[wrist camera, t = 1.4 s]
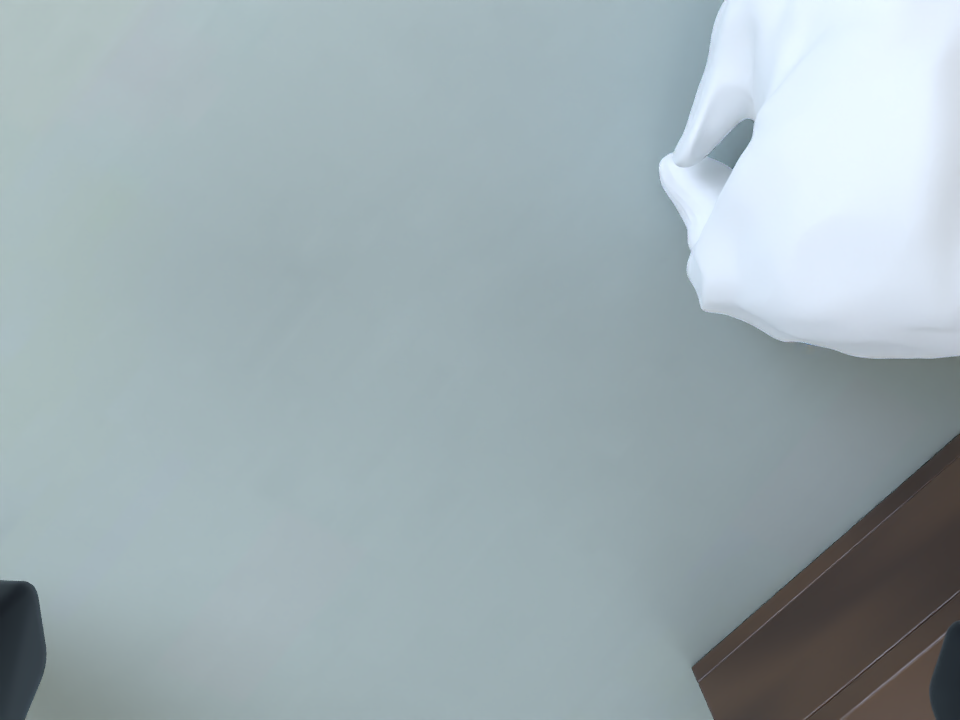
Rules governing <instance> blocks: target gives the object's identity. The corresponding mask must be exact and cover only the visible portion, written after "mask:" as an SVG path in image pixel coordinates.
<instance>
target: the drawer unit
mask: <svg viewBox="0 0 960 720" xmlns="http://www.w3.org/2000/svg"><path fill="white" fill-rule="evenodd" d="M958 620H960V434H959V435H958V436H957V437H955V438H954V439H953V440H952V441H951V442H950V443H949V444H947V445H946V446H945V447H944V448H943V449H942V450H940V451H939V452H938V453H937V454H936V455H935V456H934V457H932V458H931V459H930V460H929V461H928V462H927V463H926V464H924V465H923V466H922V467H921V468H920V469H919V470H918V471H916V472H915V473H914V474H913V475H912V476H911V477H910V478H908V479H907V480H906V481H905V482H904V483H903V484H901V485H900V486H899V487H898V488H897V489H896V490H895V491H893V492H892V493H891V494H890V495H889V496H888V497H887V498H885V499H884V500H883V501H882V502H881V503H880V504H879V505H877V506H876V507H875V508H874V509H873V510H872V511H871V512H869V513H868V514H867V515H866V516H865V517H864V518H862V519H861V520H860V521H859V522H858V523H857V524H856V525H854V526H853V527H852V528H851V529H850V530H849V531H848V532H846V533H845V534H844V535H843V536H842V537H841V538H840V539H838V540H837V541H836V542H835V543H834V544H833V545H832V546H830V547H829V548H828V549H827V550H826V551H825V552H823V553H822V554H821V555H820V556H819V557H818V558H817V559H815V560H814V561H813V562H812V563H811V564H810V565H809V566H807V567H806V568H805V569H804V570H803V571H802V572H801V573H799V574H798V575H797V576H796V577H795V578H794V579H793V580H791V581H790V582H789V583H788V584H787V585H786V586H785V587H783V588H782V589H781V590H780V591H779V592H778V593H776V594H775V595H774V596H773V597H772V598H771V599H770V600H768V601H767V602H766V603H765V604H764V605H763V606H762V607H760V608H759V609H758V610H757V611H756V612H755V613H754V614H752V615H751V616H750V617H749V618H748V619H747V620H746V621H744V622H743V623H742V624H741V625H740V626H739V627H737V628H736V629H735V630H734V631H733V632H732V633H731V634H729V635H728V636H727V637H726V638H725V639H724V640H723V641H721V642H720V643H719V644H718V645H717V646H716V647H715V648H713V649H712V650H711V651H710V652H709V653H708V654H707V655H705V656H704V657H703V658H702V659H701V660H700V661H698V662H697V663H696V664H695V665H694V666H693V667H692V670H693V673H694V675H695V677H696V680H697V682H698V683H699V686H700V688H701V691H702V693H703V695H704V698H705V700H706V702H707V705H708V707H709V709H710V712H711V714H712V716H713V719H714V720H936V718H935V716H934V713H933V711H932V707H931V703H930V696H929V688H930V681H931V678H932V675H933V672H934V669H935V666H936V663H937V660H938V657H939V654H940V651H941V648H942V644H943V641H944V638H945V635H946V632H947V630H948V628H949V627H950V626H951V625H952V623H954V622H956V621H958Z"/></svg>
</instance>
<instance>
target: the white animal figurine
mask: <svg viewBox="0 0 960 720" xmlns="http://www.w3.org/2000/svg"><path fill="white" fill-rule="evenodd" d="M745 119H751V120H753V121H754V122H755V123H754V128H753V135H752V139H751V141H750V143H749V144H748V146H747V148H746V149H745V150H744V152H743V153H742V155H741V156H740V158H739V159H738V161H737V163H736V165H735V167H734V169H733V170H732V169H731V168H730V167H729V166H727V165H726V164H724V163H722V162H720V161H718V160H715V159H713V158H710V157H707V155H708V154H709V153H710V152H711V151H712V150H713V149H714V148H715V147H716V146H717V145H718V144H719V143H720V142H721V141H722V140H723V139H724V137H725V136H726V135H727V134H728V133H729V132H730V131H731V130H732V129H733V128H734V127H735V126H737V125H738V124H739V123H740V122H741V121H743V120H745ZM659 175H660V182H661V184H662V187H663V189H664V190H665V192H666V194H667V195H668V196H669V198H670V199H671V201H672V202H673V204H674V205H675V207H676V208H677V210H678V212H679V214H680V215H681V218H682V219H683V221H684V223H685V225H686V228H687V232H688V246H689V248H690V250H691V254H690V256H689V259H688V263H687V276H688V278H689V280H690V282H691V283H692V284H693V286H694V288H695V290H696V293H697V296H698V299H699V303H700V307H701V309H702V310H703V311H705V312H709V313H720V314H725V315H728V316H731V317H734V318H736V319H739V320H741V321H744V322H746V323H748V324H750V325H752V326H754V327H756V328H758V329H760V330H761V331H763V332H764V333H766V334H768V335H769V336H771V337H773V338H775V339H777V340H779V341H782V342H804V343H808V344H812V345H816V346H820V347H824V348H829V349H833V350H836V351H839V352H841V353H844V354H847V355H851V356H855V357H861V358H870V359H911V358H926V359H933V358H943V357H952V356H960V0H724V2H723V4H722V5H721V7H720V10H719V12H718V14H717V17H716V20H715V23H714V27H713V31H712V36H711V42H710V48H709V54H708V60H707V64H706V67H705V71H704V74H703V76H702V79H701V82H700V85H699V87H698V90H697V93H696V96H695V99H694V103H693V106H692V109H691V112H690V115H689V119H688V121H687V125H686V128H685V130H684V132H683V135H682V137H681V139H680V140H679V142H678V144H677V146H676V148H675V150H674V152H673V153H670V154H668V155H666V156H665V157H663V159H662V160H661V162H660V164H659Z"/></svg>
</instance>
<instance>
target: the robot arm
mask: <svg viewBox="0 0 960 720" xmlns="http://www.w3.org/2000/svg"><path fill="white" fill-rule="evenodd" d="M45 664H46V644H45V637H44V631H43V625H42V618H41V612H40V605H39V599H38V594H37V591H36V589H35V587H34V586H33V585H32V584H30V583H28V582H25V581H4V580H0V720H25V717H26V715H27V713H28V710H29V708H30V705H31V703H32V701H33V698H34V696H35V693H36V691H37V689H38V686H39V684H40V681H41V679H42V676H43V673H44V669H45ZM929 696H930V703H931V707H932V711H933V713H934V716H935V718H936V720H960V620H958V621H956V622H954V623H952V625H951V626H950V627H949V628H948V630H947V632H946V635H945V638H944V641H943V644H942V648H941V651H940V654H939V657H938V660H937V663H936V666H935V669H934V672H933V675H932V678H931V681H930V688H929Z"/></svg>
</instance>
